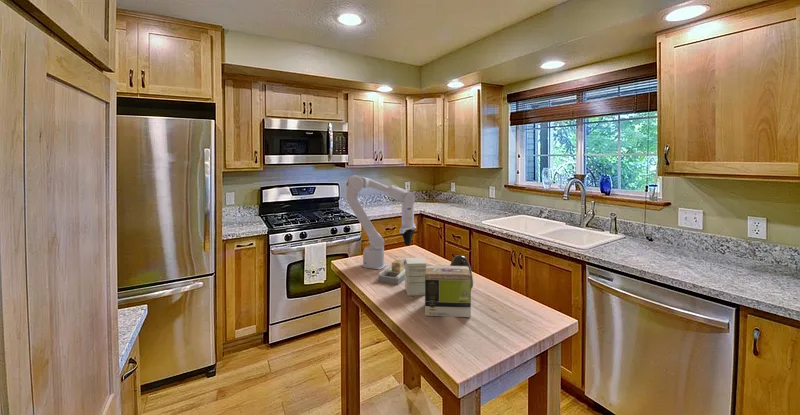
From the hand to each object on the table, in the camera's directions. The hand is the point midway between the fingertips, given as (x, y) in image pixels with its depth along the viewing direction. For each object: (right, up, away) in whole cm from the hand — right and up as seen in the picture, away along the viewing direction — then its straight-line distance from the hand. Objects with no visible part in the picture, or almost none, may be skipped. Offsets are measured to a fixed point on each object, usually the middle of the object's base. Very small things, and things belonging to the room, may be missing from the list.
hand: (407, 245), depth 172 cm
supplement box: (+2, -15, -32) cm, 35 cm away
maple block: (-4, -9, -15) cm, 18 cm away
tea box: (+12, -18, -48) cm, 53 cm away
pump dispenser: (+19, -15, -34) cm, 42 cm away
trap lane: (-3, -11, -12) cm, 17 cm away
